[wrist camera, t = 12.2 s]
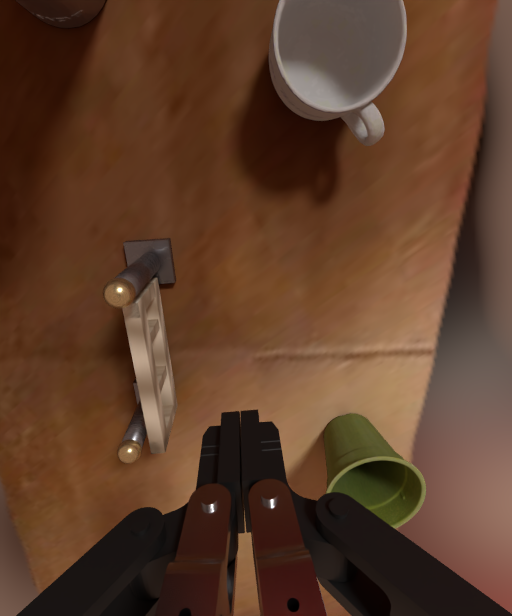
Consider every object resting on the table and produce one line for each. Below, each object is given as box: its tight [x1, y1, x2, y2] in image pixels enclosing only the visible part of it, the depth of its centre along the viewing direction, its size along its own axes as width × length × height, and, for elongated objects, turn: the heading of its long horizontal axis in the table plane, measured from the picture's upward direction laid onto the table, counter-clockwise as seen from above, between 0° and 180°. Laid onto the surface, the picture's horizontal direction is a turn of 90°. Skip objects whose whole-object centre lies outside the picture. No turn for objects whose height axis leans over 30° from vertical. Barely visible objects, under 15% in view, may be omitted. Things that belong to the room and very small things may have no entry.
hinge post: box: [103, 238, 176, 309], centre depth 35 cm, size 5×5×13 cm
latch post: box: [117, 379, 147, 464], centre depth 41 cm, size 4×4×12 cm
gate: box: [122, 278, 177, 454], centre depth 39 cm, size 17×2×8 cm, turn 3°
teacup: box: [269, 0, 407, 146], centre depth 32 cm, size 14×11×8 cm
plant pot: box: [324, 414, 426, 529], centre depth 46 cm, size 12×12×11 cm
